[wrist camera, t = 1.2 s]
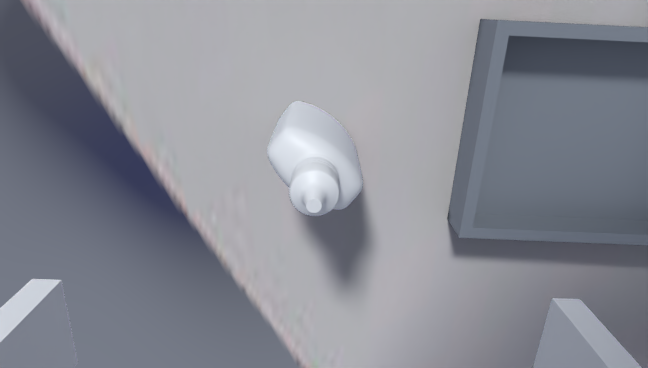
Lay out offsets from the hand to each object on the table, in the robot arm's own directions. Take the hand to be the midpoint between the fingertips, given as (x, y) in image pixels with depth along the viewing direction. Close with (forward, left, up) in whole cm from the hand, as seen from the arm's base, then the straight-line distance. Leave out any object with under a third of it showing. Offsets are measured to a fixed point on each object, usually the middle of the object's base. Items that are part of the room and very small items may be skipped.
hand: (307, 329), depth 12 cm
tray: (-1, +20, -20) cm, 28 cm away
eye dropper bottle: (0, 0, -20) cm, 20 cm away
